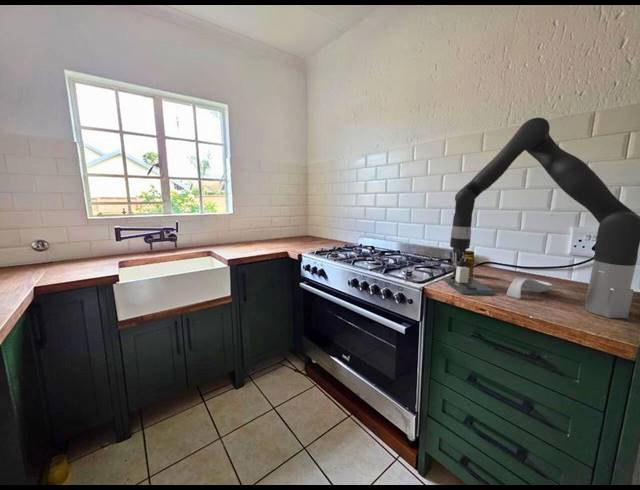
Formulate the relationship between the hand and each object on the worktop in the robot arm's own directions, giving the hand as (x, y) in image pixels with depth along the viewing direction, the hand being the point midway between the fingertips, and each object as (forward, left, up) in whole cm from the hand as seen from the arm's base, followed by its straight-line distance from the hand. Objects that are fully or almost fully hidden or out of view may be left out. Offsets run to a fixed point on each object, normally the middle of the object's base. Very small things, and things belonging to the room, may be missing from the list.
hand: (456, 275), depth 119 cm
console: (-6, -2, -3) cm, 7 cm away
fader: (-5, 0, -1) cm, 5 cm away
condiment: (+14, -11, -4) cm, 18 cm away
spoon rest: (-10, -24, -4) cm, 26 cm away
